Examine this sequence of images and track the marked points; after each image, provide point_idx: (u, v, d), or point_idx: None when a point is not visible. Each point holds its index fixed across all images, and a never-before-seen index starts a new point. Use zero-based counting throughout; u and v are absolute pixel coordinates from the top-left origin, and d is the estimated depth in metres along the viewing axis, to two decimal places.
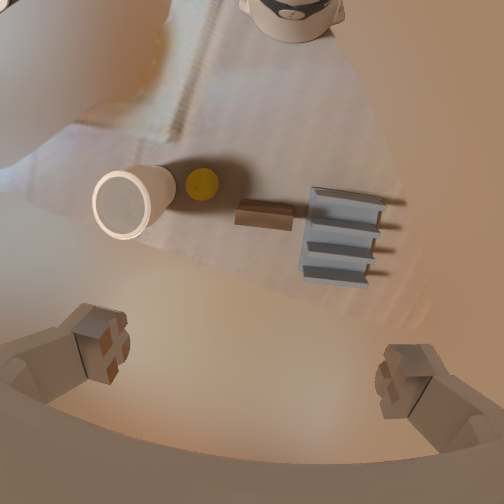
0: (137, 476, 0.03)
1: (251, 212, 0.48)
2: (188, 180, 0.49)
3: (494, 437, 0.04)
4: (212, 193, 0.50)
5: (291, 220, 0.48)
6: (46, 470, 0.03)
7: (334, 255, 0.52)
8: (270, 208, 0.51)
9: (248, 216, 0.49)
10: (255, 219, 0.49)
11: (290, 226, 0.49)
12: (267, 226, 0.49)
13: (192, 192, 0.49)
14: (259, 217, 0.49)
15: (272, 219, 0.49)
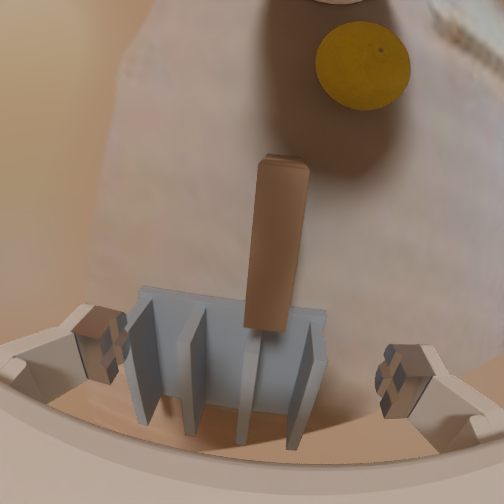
0: (137, 476, 0.03)
1: (299, 220, 0.15)
2: (391, 32, 0.12)
3: (494, 437, 0.04)
4: (347, 93, 0.14)
5: (273, 328, 0.17)
6: (46, 470, 0.03)
7: (188, 386, 0.22)
8: None
9: (286, 210, 0.15)
10: (276, 232, 0.15)
11: (256, 325, 0.17)
12: (253, 267, 0.16)
13: (361, 36, 0.12)
14: (283, 244, 0.15)
15: (276, 281, 0.16)
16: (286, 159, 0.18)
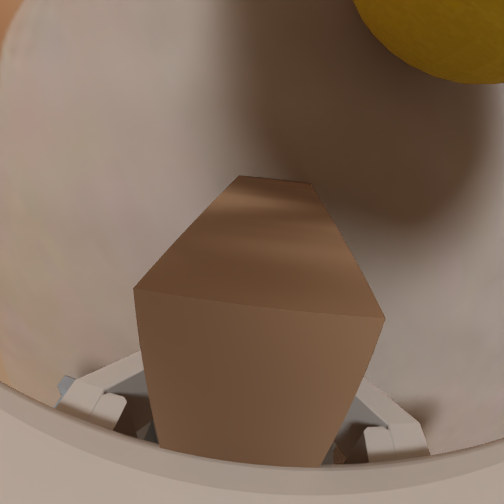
0: (137, 476, 0.03)
1: (312, 457, 0.04)
2: None
3: (393, 456, 0.04)
4: (461, 18, 0.03)
5: None
6: (46, 470, 0.03)
7: None
8: None
9: (267, 439, 0.04)
10: None
11: None
12: None
13: None
14: None
15: None
16: (278, 198, 0.07)
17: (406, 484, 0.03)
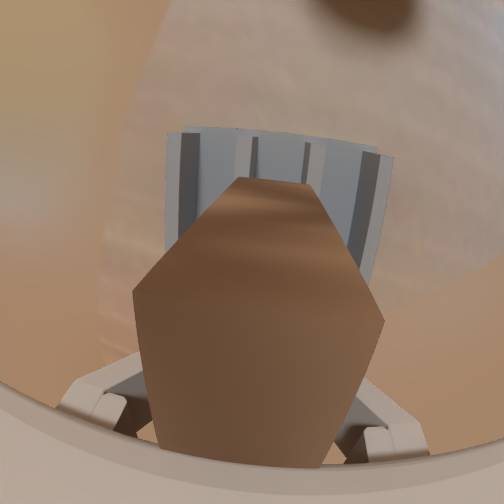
0: (137, 476, 0.03)
1: (312, 458, 0.04)
2: None
3: (394, 456, 0.04)
4: None
5: None
6: (46, 470, 0.03)
7: None
8: None
9: (266, 441, 0.03)
10: None
11: None
12: None
13: None
14: None
15: None
16: (277, 199, 0.07)
17: (406, 484, 0.03)
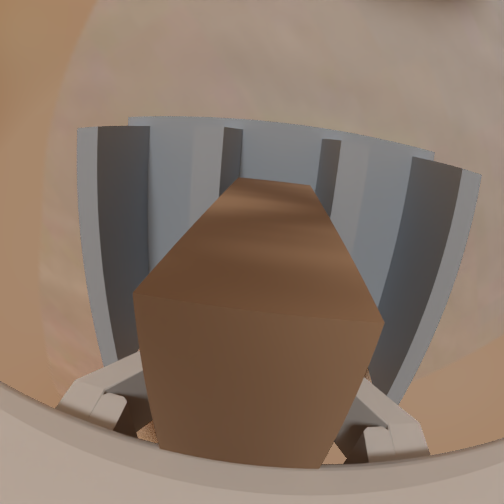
0: (137, 476, 0.03)
1: (312, 459, 0.04)
2: None
3: (393, 456, 0.04)
4: None
5: None
6: (46, 470, 0.03)
7: None
8: None
9: (266, 442, 0.03)
10: None
11: None
12: None
13: None
14: None
15: None
16: (277, 200, 0.07)
17: (406, 484, 0.03)
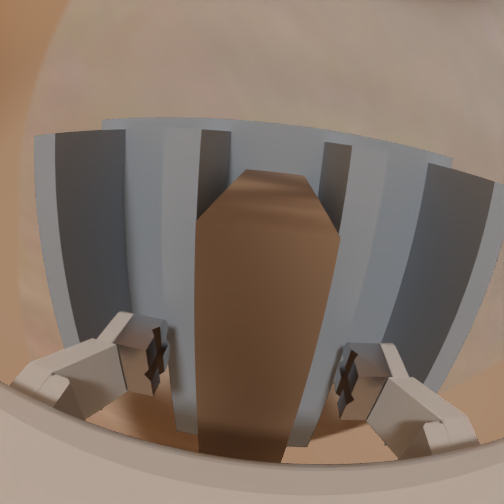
0: (137, 476, 0.03)
1: (305, 354, 0.06)
2: None
3: (451, 448, 0.04)
4: None
5: None
6: (46, 470, 0.03)
7: (187, 288, 0.09)
8: None
9: (273, 335, 0.06)
10: (249, 374, 0.06)
11: None
12: (207, 422, 0.07)
13: None
14: (267, 394, 0.06)
15: (253, 441, 0.07)
16: (278, 184, 0.10)
17: (406, 484, 0.03)
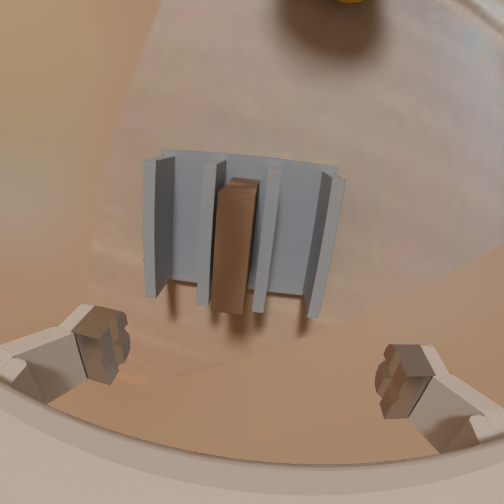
0: (137, 476, 0.03)
1: (248, 231, 0.21)
2: None
3: (494, 437, 0.04)
4: None
5: (233, 311, 0.23)
6: (46, 470, 0.03)
7: (209, 222, 0.24)
8: (250, 253, 0.25)
9: (238, 224, 0.21)
10: (232, 240, 0.21)
11: (220, 309, 0.23)
12: (217, 265, 0.22)
13: None
14: (237, 248, 0.21)
15: (233, 275, 0.22)
16: (244, 183, 0.25)
17: (406, 484, 0.03)
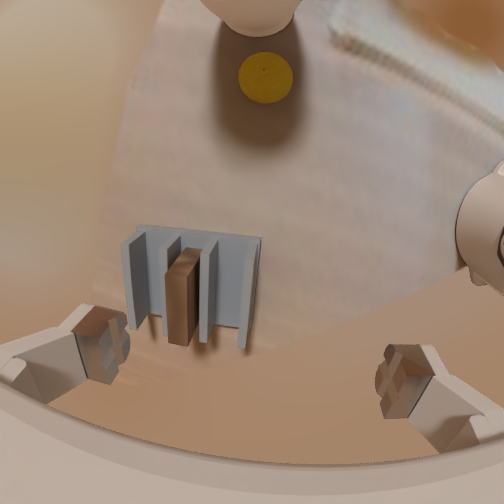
0: (137, 476, 0.03)
1: (185, 298, 0.32)
2: (275, 57, 0.25)
3: (494, 437, 0.04)
4: (251, 94, 0.27)
5: (182, 344, 0.34)
6: (46, 470, 0.03)
7: None
8: (194, 305, 0.36)
9: (178, 294, 0.32)
10: (176, 302, 0.32)
11: (174, 342, 0.34)
12: (168, 316, 0.33)
13: (255, 63, 0.25)
14: (180, 307, 0.33)
15: (179, 323, 0.33)
16: (189, 258, 0.36)
17: (406, 484, 0.03)
